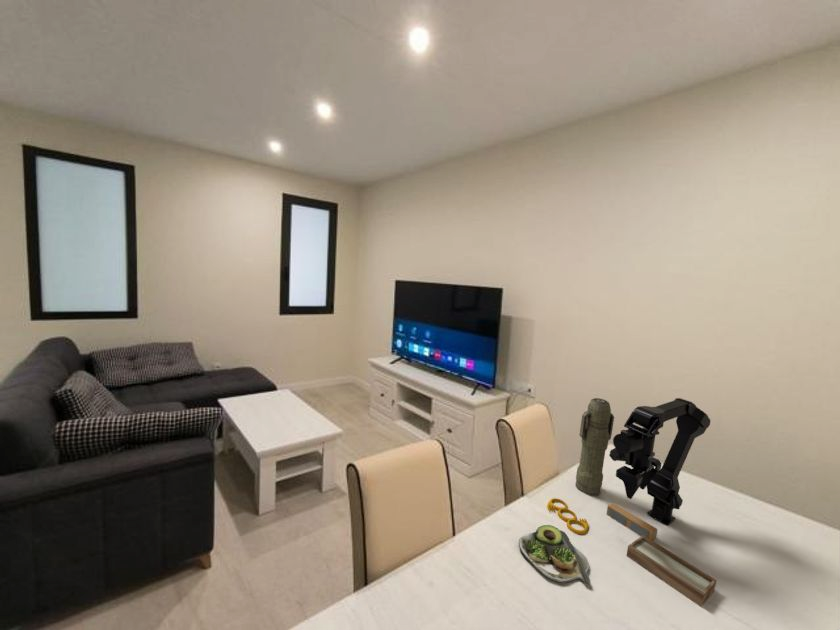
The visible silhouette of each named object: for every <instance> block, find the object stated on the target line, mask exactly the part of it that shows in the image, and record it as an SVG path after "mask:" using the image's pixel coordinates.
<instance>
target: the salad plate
mask: <svg viewBox="0 0 840 630" xmlns="http://www.w3.org/2000/svg"><path fill="white" fill-rule="evenodd" d="M518 548H519V550H520V552H521V554H522V555H523V558H525V559H526V560H527V561H528V562H529V563H531V565H533V566H534V568H536V569H537V570H538V572H540V573H541V574H543V576H545V577H547V578H548V579H550V580H551V581H556V582H558V583H570V582H573V581H574V580H579V579H581V580H582V581H583V582H585V583H586V584H591V579H590V577H589V575H588V573H587V572H588V571H589V568H590V567H589V566H590V565H589V564H590V563H589V560H588V557H587V556H586V555H584V553H583V552H581V551H580V550H579V549H578V548H577V547H576V546H574V544H572V542H571V541H570V537H568V535H567V533H566V532H565V531H563V530H561V529H559V528H558V527H555V526H554V525H552V524H544V525H543V524H542V525H541V526H539V527H537V529H536V530H535V531H534V532H531V533H528V534H525V535H522V536H521V537H519V539H518ZM537 562H538V563H542V564H543V563H547V564H551V565H552V566H554V567H555V568H556V569H557V570H559V571H560V573H558V574H555V573H553V572H549V571H547V570H546V569H544V568H543V567H541V566H540V565H539V564H538V563H537Z"/></svg>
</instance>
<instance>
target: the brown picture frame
mask: <svg viewBox="0 0 840 630" xmlns="http://www.w3.org/2000/svg"><path fill="white" fill-rule="evenodd" d="M626 557H627V558H629V559H630V560H631V561H634V562H635V563H636V564H638V565H639V566H641V567H642V568H644V570H647V571H648V572H650V573H651V574H652V575H653V576H655V577H657V578H659V579H660V580H661V581H663V582H665V583H666V584H668V585H669V586H670V587H671V588H673V589H675V590H676V591H678V592H679V593H680V594H682V595H683V596H685V597H686V598H687V599H689V600H690V601H692V602H694V603H695V604H697V605H698V606H699V607H702V606H703V605H704V604H705V603H706V602H707V600H708V599H710V597H711V596H712V594H713V593H714V592H715V589H716V584H717V581H718V580H717V579H716V578H714V577H713V576H711V575H709V574H708V573H706V572H704V571H703V570H701V569H699V568H697V567H696V566H694V564H691V563H690V562H688V561H686V560H685V559H683V558H681V557H680V556H678V555H676V554H675V553H673V552H671V551H670V550H669V549H667V548H665V547H663V546H662V545H660V544H659V543H657V542H655V540H653V541H652V540H650V539H649V538H647V537H646V536H644V535H642V536H640V537H638V538H637V539H636V540H634V541H632V543H629V544H628V545H627V550H626Z"/></svg>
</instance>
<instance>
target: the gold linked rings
mask: <svg viewBox="0 0 840 630" xmlns="http://www.w3.org/2000/svg"><path fill="white" fill-rule="evenodd" d="M555 502H557V503H560V504H562V505H563V506H564V507H559V506H557V505H555V504H554V503H555ZM546 507H547V510H548V512H549V513H551V512H552V513H553V512H554V513H556V511H557V516H558V518H560V519H561V520H562V521H563V522H566V527H567V529H568V530H569V531H570V532H571V533H573V534H576V535H580V536H583V535H586V534H587V532H588V530H589V522H588V521H587V519H586V518H579V520H578V517H577V514H576V512H574V511H572V510H570V509H569V508H568V504H567V503H566V502H565V501H564V500H562V499H560V498H555V497H554V498H551V499H549V500H548V502H547V506H546ZM563 512H564V513H568V514H570V515H572V516H573V517H571V518H570V517H567V516H565V515H563V514H562V513H563ZM571 524H577V525H579V526H581V527H582V529H577V528H575V527H573V526H572V525H571Z"/></svg>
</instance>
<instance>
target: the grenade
mask: <svg viewBox="0 0 840 630" xmlns="http://www.w3.org/2000/svg"><path fill="white" fill-rule="evenodd" d="M614 421H615V416H614V414H613V413H612V409H611V405H610V402H609V401H608V400H606V399H603V398H598V397H596V398H595V397H594V398H592V399H590V401H589V403H588V406H587V410H586V411H584V412H583V413H582V415H581V421H580V428H579V436H580V438H581V451H580V456H579V457H580V459H579V465H578V467H576V468H577V469H576V475H575V480H576V481H575V487H576V489H577V490H578V491H580V492H581V493H583V494H585V495H589V496H599V495H600V494H601V489H602V486H603V480H604V474H603V469H604V463H605V455H606V451H607V449H608V446H609V441H610V440H611V438H612V433H613V429H614V428H613V427H614Z"/></svg>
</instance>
